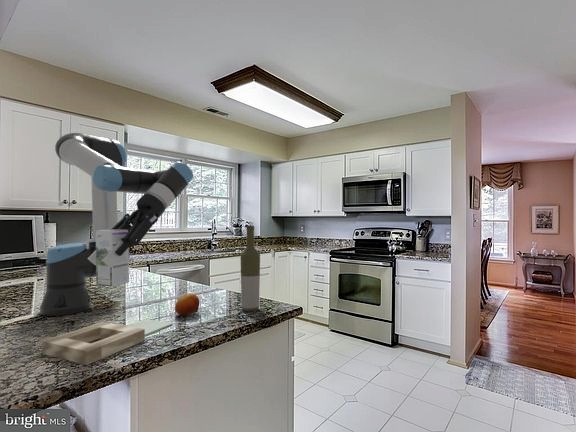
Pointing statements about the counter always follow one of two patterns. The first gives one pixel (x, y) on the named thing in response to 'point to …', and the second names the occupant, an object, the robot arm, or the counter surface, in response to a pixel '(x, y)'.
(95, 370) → the counter surface
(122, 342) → the slotted stand
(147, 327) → the mat
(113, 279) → the syrup box
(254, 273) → the bottle
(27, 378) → the counter surface
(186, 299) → the fruit
